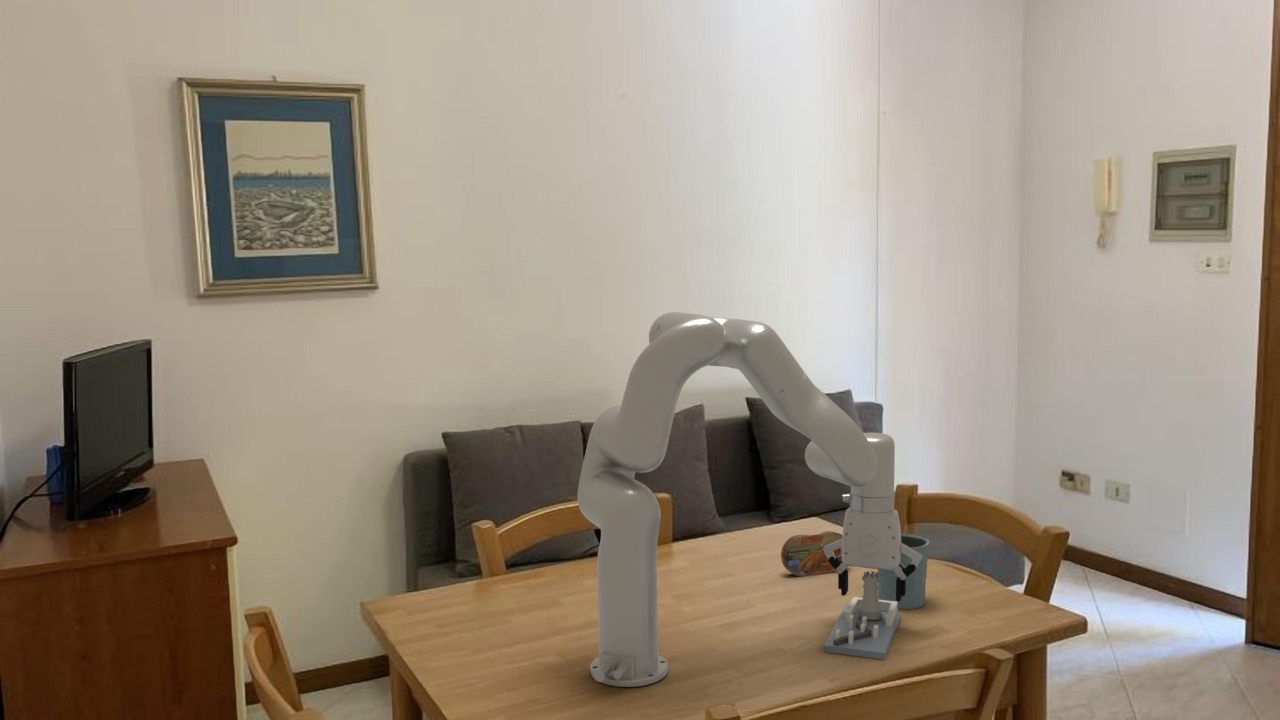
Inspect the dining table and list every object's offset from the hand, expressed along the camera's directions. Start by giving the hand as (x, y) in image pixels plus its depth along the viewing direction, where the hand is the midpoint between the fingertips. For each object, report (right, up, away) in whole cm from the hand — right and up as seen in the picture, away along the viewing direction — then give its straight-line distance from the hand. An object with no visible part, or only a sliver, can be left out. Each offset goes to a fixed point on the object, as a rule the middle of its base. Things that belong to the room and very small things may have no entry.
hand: (871, 596), depth 185 cm
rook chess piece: (0, -4, 0) cm, 4 cm away
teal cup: (+8, -4, +12) cm, 15 cm away
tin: (-5, -2, +30) cm, 30 cm away
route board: (-2, -6, -4) cm, 8 cm away
